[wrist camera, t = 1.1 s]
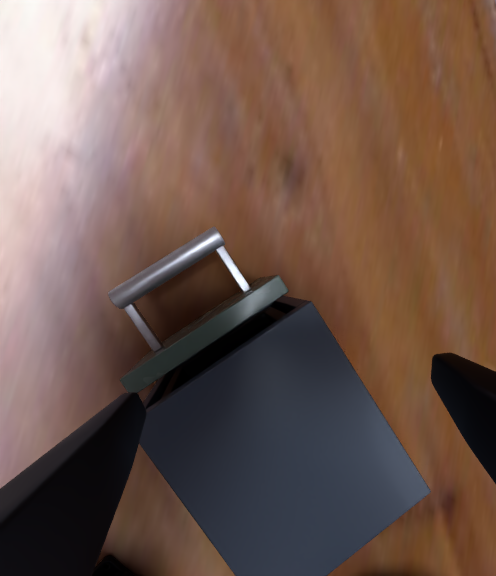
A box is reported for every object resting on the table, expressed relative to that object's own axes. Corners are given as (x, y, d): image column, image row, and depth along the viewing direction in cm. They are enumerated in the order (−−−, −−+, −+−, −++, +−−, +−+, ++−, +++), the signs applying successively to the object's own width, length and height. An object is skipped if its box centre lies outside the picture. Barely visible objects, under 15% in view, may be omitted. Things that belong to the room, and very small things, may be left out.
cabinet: (163, 370, 21) (126, 426, 13) (277, 294, 22) (311, 300, 14) (250, 494, 23) (268, 622, 14) (355, 416, 24) (432, 492, 15)
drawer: (118, 299, 20) (66, 307, 13) (229, 229, 21) (233, 203, 14) (237, 469, 21) (245, 555, 15) (337, 397, 22) (387, 445, 16)
